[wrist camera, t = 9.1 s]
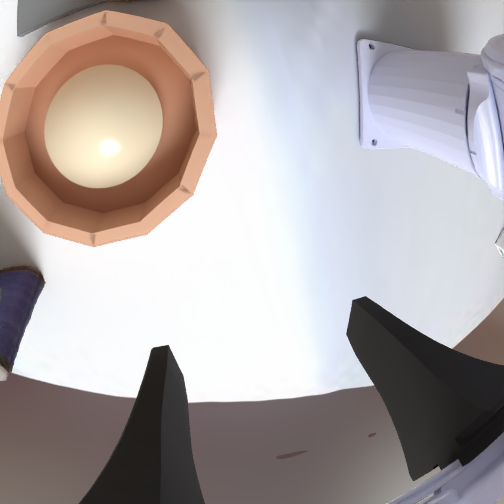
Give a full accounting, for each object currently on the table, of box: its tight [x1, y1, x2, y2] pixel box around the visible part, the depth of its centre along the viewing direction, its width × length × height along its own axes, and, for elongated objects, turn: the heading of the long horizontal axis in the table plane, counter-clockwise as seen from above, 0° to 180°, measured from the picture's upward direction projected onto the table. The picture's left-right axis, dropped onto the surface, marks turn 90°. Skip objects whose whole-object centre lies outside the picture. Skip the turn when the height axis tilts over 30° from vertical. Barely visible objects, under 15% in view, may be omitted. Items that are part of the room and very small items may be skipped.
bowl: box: [0, 10, 217, 247], centre depth 13 cm, size 12×12×4 cm
